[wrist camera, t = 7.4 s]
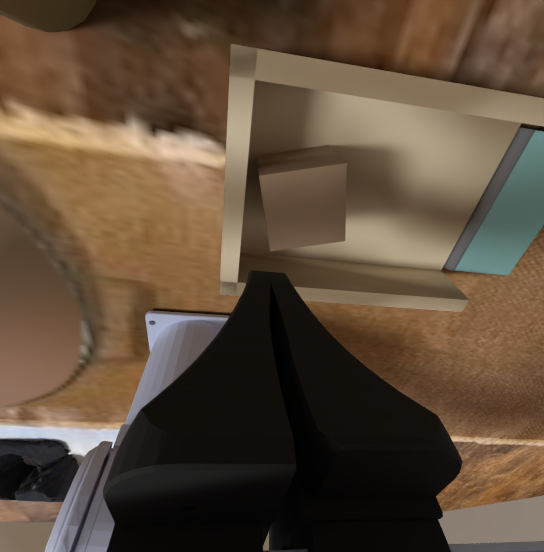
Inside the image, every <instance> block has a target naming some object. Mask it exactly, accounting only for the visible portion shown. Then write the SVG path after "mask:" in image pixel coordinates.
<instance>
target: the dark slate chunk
mask: <svg viewBox="0 0 544 552" xmlns="http://www.w3.org/2000/svg"><path fill="white" fill-rule="evenodd" d="M22 456H25V457H28V458H33V459H34V460H36V461H35V462H37V463H36V464H37V466H31V465H27V464H26V463H24V462H23V460H24V459H23V458H22ZM78 469H79V467H78V464H77V461H76V459H75V458H73V457H72V455H68V450H67V449H64V448H63V446H62V445H61V444H60V443H58V442H56V441H42V442H37V443H36V442H24V441H9V440H4V441H0V500H19V501H44V502H64V500H65V498H66V496H67V493H68V491H69V489H70V486H71V484H72V482H73V480H74V478H75V475H76V473H77V471H78Z"/></svg>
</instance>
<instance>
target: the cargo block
mask: <svg viewBox="0 0 544 552" xmlns="http://www.w3.org/2000/svg"><path fill="white" fill-rule="evenodd" d="M258 170H259V180H260V186H261V193H262V200H263V206H264V213H265V220H266V226H267V233H268V240H269V246H270V251H278V250H285V249H292V248H299V247H306V246H314V245H321V244H328V243H335V242H343V241H345V232H346V174H347V163H346V162H345V161H344V160H343V159H342V158H341V157H340V156H339V155H338V154H337V153H336V152H335V151H334V150H333V149H332V148H331V147H330V146H328V145H325V146H318V147H311V148H304V149H298V150H291V151H284V152H277V153H270V154H264V155H258Z"/></svg>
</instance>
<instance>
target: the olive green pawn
mask: <svg viewBox="0 0 544 552" xmlns="http://www.w3.org/2000/svg"><path fill="white" fill-rule="evenodd" d="M96 1H97V0H0V14H1V15H3V16H5V17H7V18H9V19H12V20H14V21H16V22H18V23H21V24H23V25H25V26H28V27H31V28H35V29H39V30H42V31H46V32H57V31H68V30H70V29H72V28H73V27H75V26H77V25H78V24H80V23H82V22H83V21H85V19H86V18H87V16H88V15H89V13H90V12H91V10H92V9H93V7H94V5H95V4H96Z"/></svg>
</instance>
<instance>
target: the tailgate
mask: <svg viewBox="0 0 544 552" xmlns="http://www.w3.org/2000/svg"><path fill="white" fill-rule="evenodd" d="M543 225H544V131H539V130H533V129H526V128H520V127H519V129H518V131H517V132H516V134H515V136H514V138H513V140H512V142H511V143H510V145H509V147H508V149H507V151H506V153H505V154H504V156H503V158H502V160H501V162H500V164H499V165H498V167H497V169H496V171H495V173H494V175H493V176H492V178H491V180H490V182H489V184H488V186H487V187H486V189H485V191H484V193H483V195H482V197H481V198H480V200H479V202H478V204H477V206H476V208H475V209H474V211H473V213H472V215H471V217H470V219H469V220H468V222H467V224H466V226H465V228H464V230H463V231H462V233H461V235H460V237H459V239H458V241H457V242H456V244H455V246H454V248H453V250H452V251H451V253H450V255H449V257H448V259H447V261H446V262H445V264H444V268H446V269H448V270H451V271H454V270H455V271H465V272H477V273H488V274H499V275H509V274H510V272H511V271H512V269H513V268H514V267H515V265H516V264H517V262H518V261H519V259H520V258H521V257H522V255H523V254H524V252H525V251H526V250H527V248H528V247H529V245H530V244H531V242H532V241H533V240H534V238H535V237H536V235H537V234H538V233H539V231H540V230H541V228H542V227H543Z"/></svg>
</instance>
